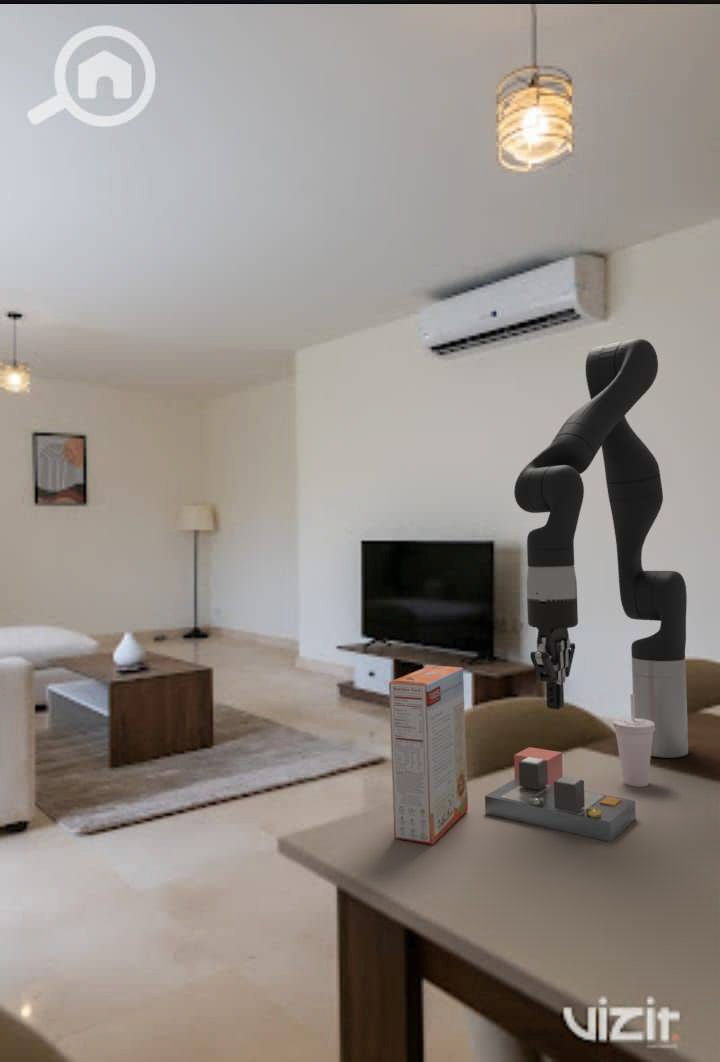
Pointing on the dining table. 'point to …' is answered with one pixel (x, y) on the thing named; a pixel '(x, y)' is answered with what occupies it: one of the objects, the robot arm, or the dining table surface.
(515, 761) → the salmon pink cube
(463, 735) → the cracker box
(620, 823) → the panel
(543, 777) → the toggle
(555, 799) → the toggle
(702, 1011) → the dining table surface
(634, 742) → the smoothie
